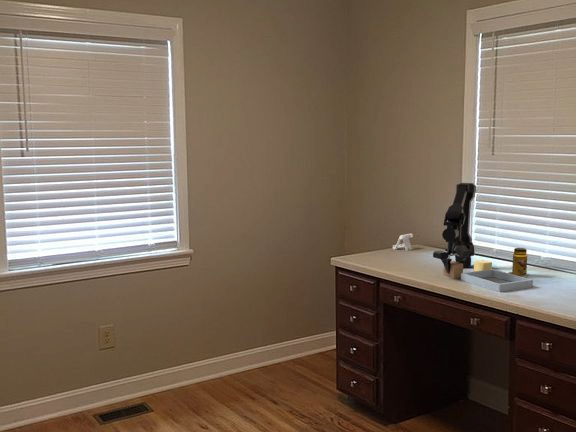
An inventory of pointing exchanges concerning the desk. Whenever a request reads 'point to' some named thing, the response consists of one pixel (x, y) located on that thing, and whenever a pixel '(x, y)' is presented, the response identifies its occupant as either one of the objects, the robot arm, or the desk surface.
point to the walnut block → (454, 270)
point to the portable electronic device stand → (406, 242)
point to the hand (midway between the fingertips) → (453, 272)
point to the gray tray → (514, 283)
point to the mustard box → (482, 265)
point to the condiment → (519, 262)
